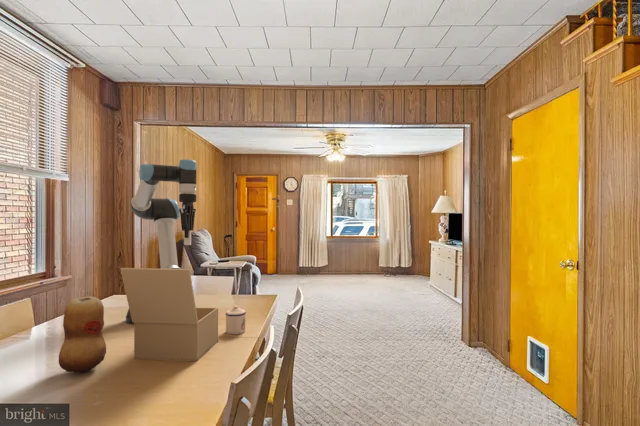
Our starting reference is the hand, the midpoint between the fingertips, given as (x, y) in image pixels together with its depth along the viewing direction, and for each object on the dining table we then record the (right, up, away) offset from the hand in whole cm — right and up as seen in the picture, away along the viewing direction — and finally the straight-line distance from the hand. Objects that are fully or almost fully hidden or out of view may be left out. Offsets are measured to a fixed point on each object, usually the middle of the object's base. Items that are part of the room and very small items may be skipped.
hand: (187, 244), depth 177 cm
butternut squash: (-20, -40, -46) cm, 64 cm away
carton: (+5, -39, -25) cm, 47 cm away
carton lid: (+4, -15, -39) cm, 42 cm away
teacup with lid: (+22, -40, 0) cm, 45 cm away
